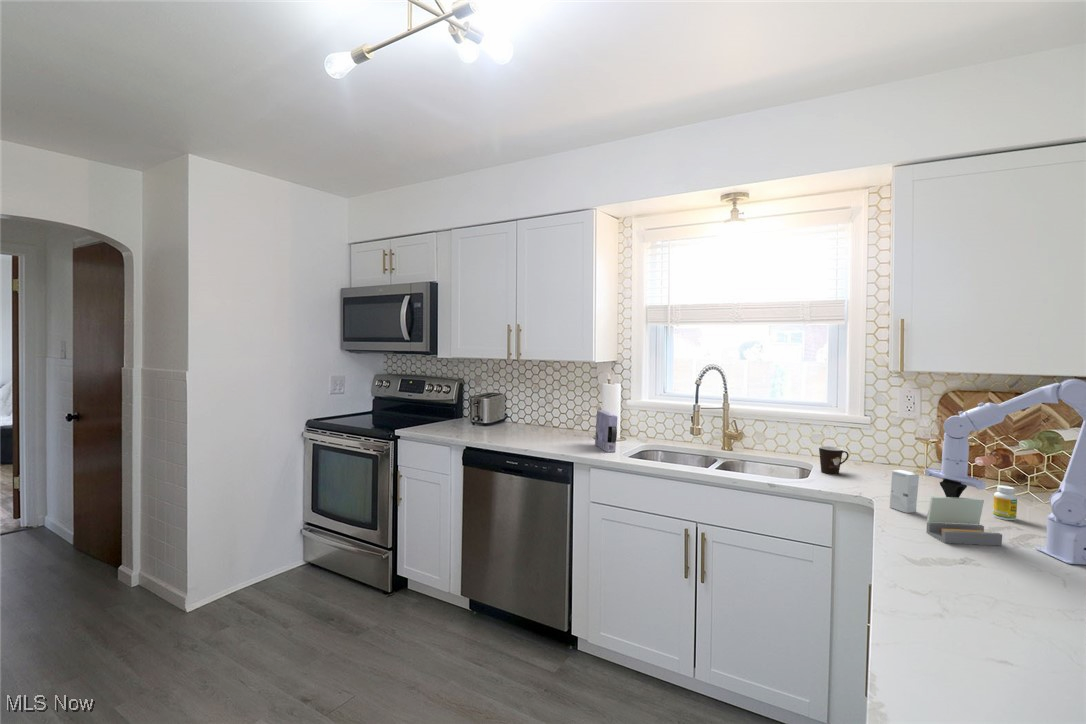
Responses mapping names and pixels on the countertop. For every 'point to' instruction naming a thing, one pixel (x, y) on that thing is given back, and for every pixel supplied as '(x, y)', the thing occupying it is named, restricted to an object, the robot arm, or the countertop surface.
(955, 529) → the tall wooden block
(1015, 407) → the robot arm
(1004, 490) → the supplement bottle
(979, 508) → the cover
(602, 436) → the cake pan box
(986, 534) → the grey open tray
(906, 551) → the countertop surface
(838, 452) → the coffee mug
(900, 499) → the skincare box
